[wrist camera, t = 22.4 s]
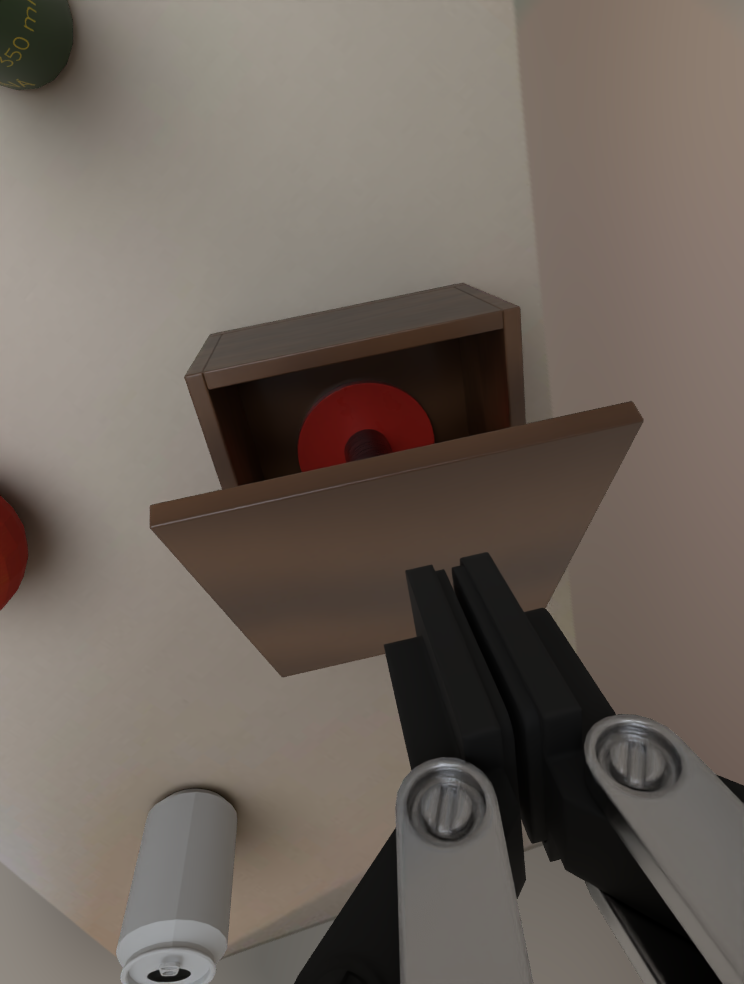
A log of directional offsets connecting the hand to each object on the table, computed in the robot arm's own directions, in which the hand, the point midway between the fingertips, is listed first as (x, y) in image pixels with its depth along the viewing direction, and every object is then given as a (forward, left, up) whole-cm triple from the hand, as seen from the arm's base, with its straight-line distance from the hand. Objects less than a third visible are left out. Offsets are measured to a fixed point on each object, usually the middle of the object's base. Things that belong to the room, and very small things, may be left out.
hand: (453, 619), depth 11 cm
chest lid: (+3, +6, -11) cm, 13 cm away
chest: (+3, +5, -24) cm, 25 cm away
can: (+36, +21, -24) cm, 48 cm away
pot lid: (+3, +5, -23) cm, 24 cm away
